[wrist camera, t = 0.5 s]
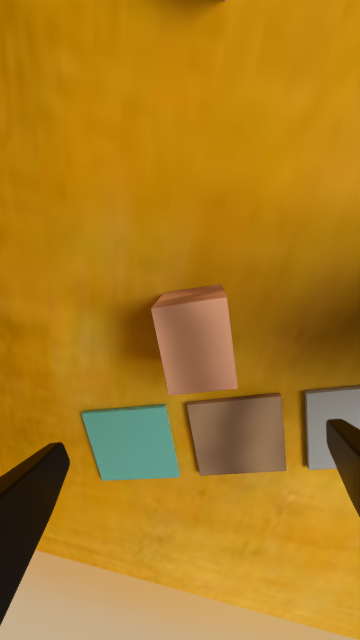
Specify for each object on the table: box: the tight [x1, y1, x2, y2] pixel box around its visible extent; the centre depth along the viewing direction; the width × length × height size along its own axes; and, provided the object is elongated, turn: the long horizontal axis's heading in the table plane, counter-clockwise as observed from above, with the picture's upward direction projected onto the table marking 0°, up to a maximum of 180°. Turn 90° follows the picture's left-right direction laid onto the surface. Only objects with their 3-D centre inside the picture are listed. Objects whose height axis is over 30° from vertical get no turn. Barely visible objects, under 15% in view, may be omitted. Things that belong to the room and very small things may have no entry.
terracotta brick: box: [151, 284, 238, 395], centre depth 18 cm, size 4×6×5 cm
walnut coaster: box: [187, 393, 286, 476], centre depth 23 cm, size 8×8×1 cm
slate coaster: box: [305, 386, 360, 470], centre depth 21 cm, size 8×8×1 cm
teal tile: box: [81, 404, 180, 481], centre depth 24 cm, size 8×8×1 cm
